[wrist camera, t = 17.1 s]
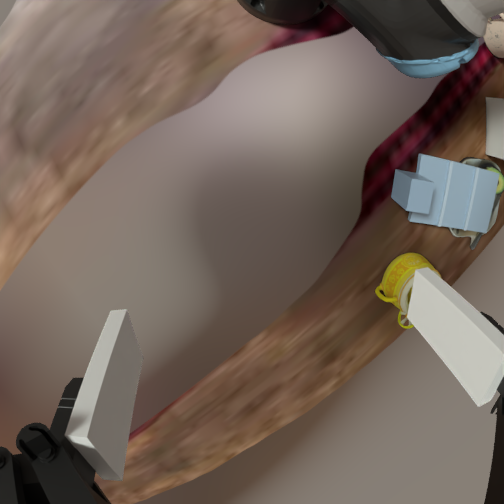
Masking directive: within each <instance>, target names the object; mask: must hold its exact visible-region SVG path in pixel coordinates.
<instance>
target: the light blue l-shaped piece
mask: <svg viewBox="0 0 504 504" xmlns="http://www.w3.org/2000/svg"><path fill="white" fill-rule="evenodd" d="M498 179H499V173H496V172H493V171H489V170H486V169H482V168H478V167H475V166H471V165H467V164H463V163H459V162H455V161H451V160H446V159H442V158H438V157H433V156H429V155H424V154H419V157H418V164H417V171H416V173H413V172H408V171H402V170H395V177H394V183H393V189H392V196H391V198H392V199H393V200H395V201H396V202H397V203H398V204H399V205H400V206H401V207H403V208H404V209H405V210H406V211H409V216H408V220H409V221H410V222H417V223H424V224H431V225H437V226H438V227H441V226H444V227H451V228H457V229H463V230H464V231H466V230H470V231H476V232H482V233H487V229H488V225H489V221H490V217H491V213H492V208H493V204H494V199H495V195H496V190H497V184H498Z"/></svg>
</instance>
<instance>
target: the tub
mask: <svg viewBox="0 0 504 504" xmlns="http://www.w3.org/2000/svg"><path fill="white" fill-rule="evenodd" d="M486 155H490V156H493V157H497V158H500V159H504V99H502V98H491V97H486Z"/></svg>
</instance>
